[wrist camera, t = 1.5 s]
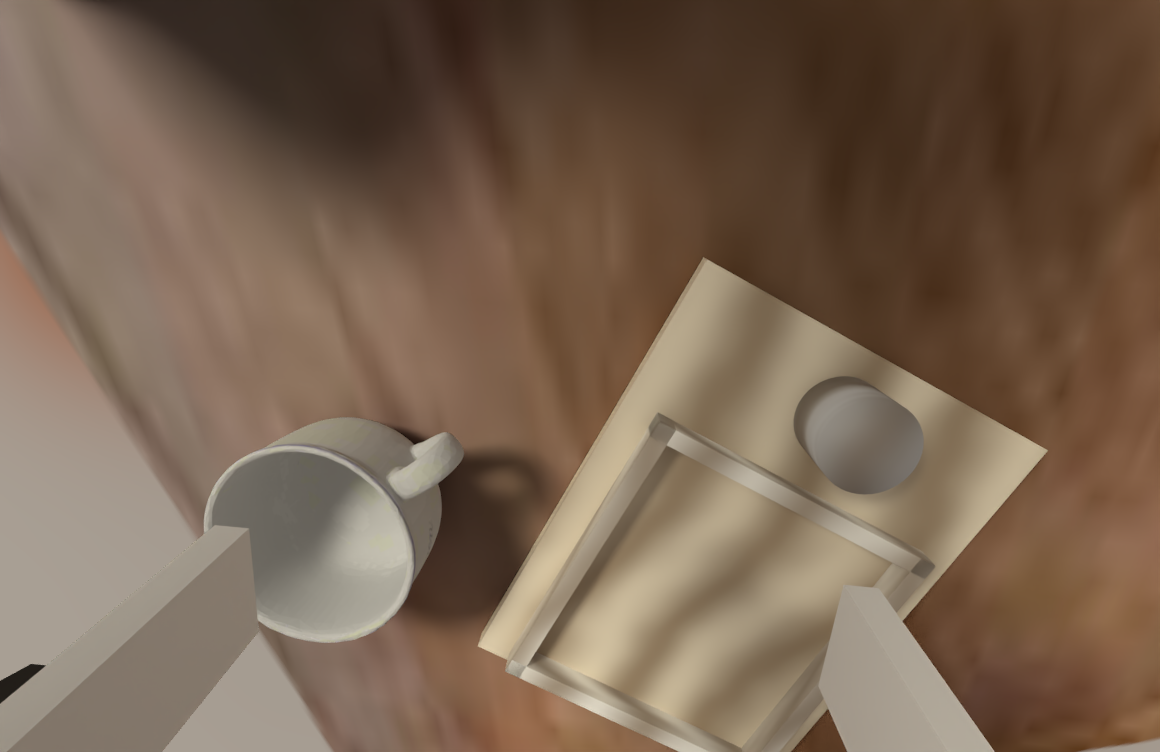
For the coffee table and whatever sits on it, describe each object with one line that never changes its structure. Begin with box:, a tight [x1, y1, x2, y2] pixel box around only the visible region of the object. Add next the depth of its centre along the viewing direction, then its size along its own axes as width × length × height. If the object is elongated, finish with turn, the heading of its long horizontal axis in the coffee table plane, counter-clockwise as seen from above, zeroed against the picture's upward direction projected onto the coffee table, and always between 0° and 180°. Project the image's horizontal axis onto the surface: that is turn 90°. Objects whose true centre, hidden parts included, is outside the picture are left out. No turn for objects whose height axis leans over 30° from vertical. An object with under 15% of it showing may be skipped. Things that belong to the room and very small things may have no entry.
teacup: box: [204, 417, 464, 643], centre depth 32 cm, size 14×11×8 cm
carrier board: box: [478, 257, 1048, 752], centre depth 34 cm, size 22×28×5 cm
